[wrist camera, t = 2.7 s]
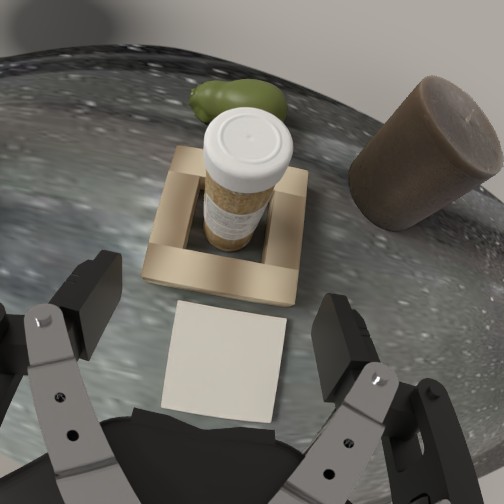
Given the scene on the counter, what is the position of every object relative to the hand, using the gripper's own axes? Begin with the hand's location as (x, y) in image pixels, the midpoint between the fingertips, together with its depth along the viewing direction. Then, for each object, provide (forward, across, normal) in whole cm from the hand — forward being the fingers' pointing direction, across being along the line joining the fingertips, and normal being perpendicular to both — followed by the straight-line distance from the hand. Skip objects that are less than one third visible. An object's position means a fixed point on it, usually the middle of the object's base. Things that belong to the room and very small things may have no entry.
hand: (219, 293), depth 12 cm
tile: (+7, -2, +13) cm, 15 cm away
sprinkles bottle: (+16, 0, +5) cm, 16 cm away
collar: (+15, 0, +4) cm, 16 cm away
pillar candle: (+21, -16, -1) cm, 27 cm away
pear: (+25, +2, -4) cm, 25 cm away
